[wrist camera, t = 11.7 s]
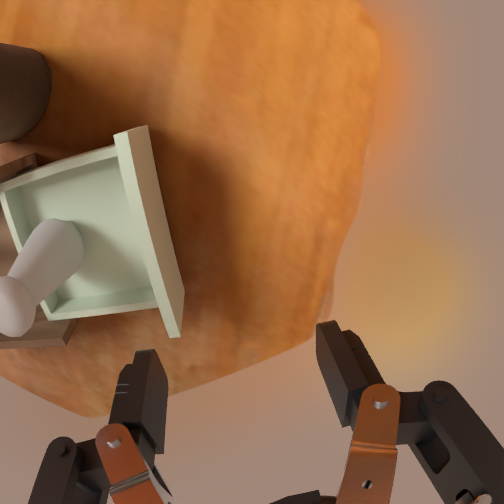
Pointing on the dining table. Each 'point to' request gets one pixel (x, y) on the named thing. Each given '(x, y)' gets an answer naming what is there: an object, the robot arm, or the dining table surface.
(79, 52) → the dining table surface
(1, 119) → the pillar candle
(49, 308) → the drawer
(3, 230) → the cabinet
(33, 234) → the salt shaker
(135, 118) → the dining table surface
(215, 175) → the dining table surface
